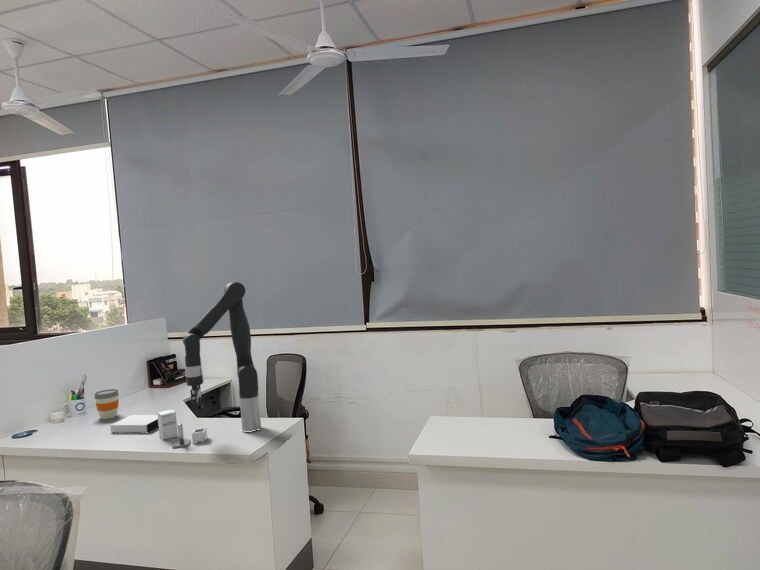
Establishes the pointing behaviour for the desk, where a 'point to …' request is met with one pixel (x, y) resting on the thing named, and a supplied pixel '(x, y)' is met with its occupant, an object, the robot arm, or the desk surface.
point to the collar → (199, 435)
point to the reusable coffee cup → (107, 403)
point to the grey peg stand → (181, 438)
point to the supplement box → (167, 424)
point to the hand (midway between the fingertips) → (197, 407)
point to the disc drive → (136, 424)
